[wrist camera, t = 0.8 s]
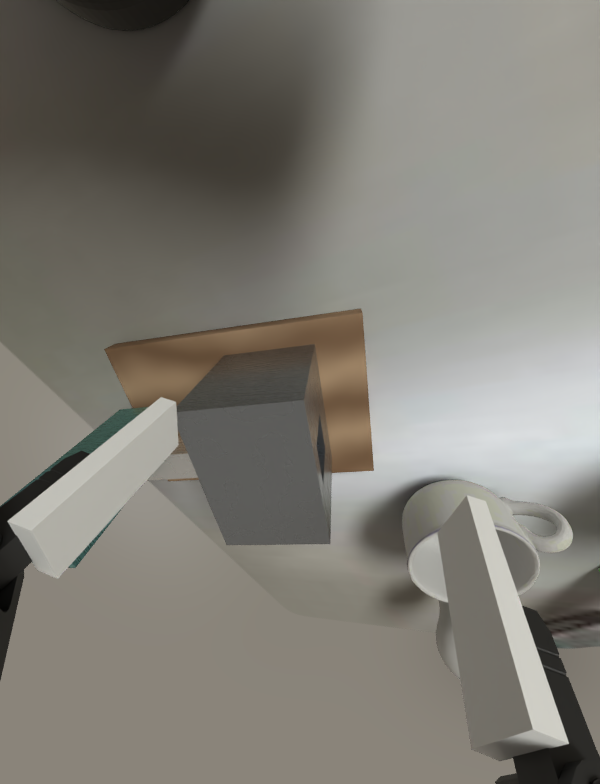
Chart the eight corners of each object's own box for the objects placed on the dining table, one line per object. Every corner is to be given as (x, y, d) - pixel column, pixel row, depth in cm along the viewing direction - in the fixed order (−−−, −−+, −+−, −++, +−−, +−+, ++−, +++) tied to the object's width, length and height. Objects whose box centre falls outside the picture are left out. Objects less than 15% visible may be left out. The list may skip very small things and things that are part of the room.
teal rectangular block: (120, 409, 28) (-11, 515, 17) (262, 395, 26) (210, 507, 15) (141, 451, 30) (36, 567, 20) (274, 442, 28) (236, 568, 17)
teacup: (406, 539, 37) (423, 612, 29) (382, 476, 32) (395, 543, 25) (534, 519, 33) (588, 597, 26) (526, 444, 29) (588, 513, 21)
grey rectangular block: (224, 355, 26) (170, 412, 18) (314, 343, 24) (303, 400, 16) (255, 462, 31) (226, 545, 23) (332, 457, 30) (330, 543, 21)
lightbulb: (466, 585, 39) (509, 699, 30) (418, 584, 40) (444, 694, 31) (471, 556, 37) (519, 671, 27) (419, 555, 38) (448, 667, 28)
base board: (115, 343, 28) (104, 349, 27) (360, 308, 24) (362, 312, 23) (174, 471, 35) (168, 481, 34) (372, 460, 31) (373, 470, 30)
